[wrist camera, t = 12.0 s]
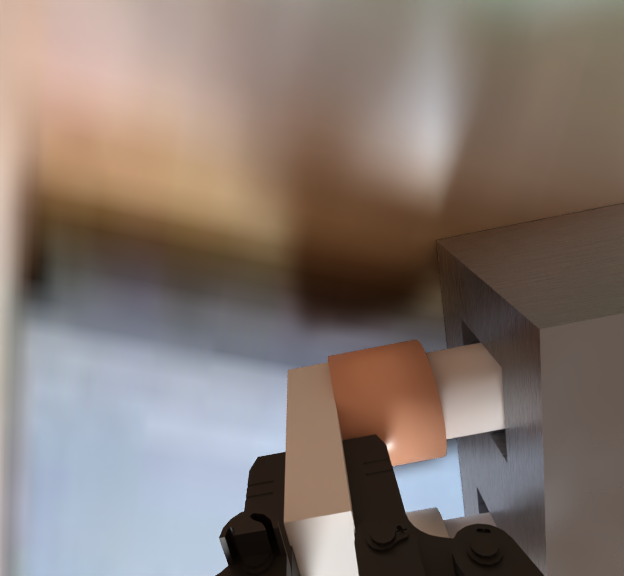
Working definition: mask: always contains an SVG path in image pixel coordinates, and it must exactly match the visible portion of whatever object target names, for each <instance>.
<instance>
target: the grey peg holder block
mask: <svg viewBox="0 0 624 576" xmlns="http://www.w3.org/2000/svg"><path fill="white" fill-rule="evenodd" d="M436 246H437V255H438V265H439V274H440V284H441V293H442V303H443V312H444V322H445V331H446V341H447V349H450V348H455V347H460V346H466V345H471V344H476V343H482V345H483V346H484V347H485V348H486V349H487V351H488V352H489V353H490V354H491V355H492V357H493V358H494V359H495V360H496V361H497V363H498V364H499V365H500V366H501V367H502V382H503V398H504V415H505V429H500V430H495V431H489V432H484V433H478V434H473V435H467V436H462V437H457V445H458V454H459V464H460V473H461V483H462V492H463V502H464V511H465V516H471V515H477V514H482V513H488V512H490V514H491V516H492V518H493V520H494V522H495V524H496V526H497V528H500V529H502V530H504V531H505V532H506V533H507V534H508V535H509V536H511V537H512V538H513V539H514V540H515V542H516V543H517V544H518V545H519V546H520V547H521V549H522V550H523V551H524V552H525V553H526V554H527V556H528V557H529V558H530V559H531V560H532V562H533V563H534V564H535V565H536V566H537V567H538V569H539V570H540V571H541V572H542V573H543V574H544V576H624V203H623V204H618V205H613V206H607V207H602V208H597V209H592V210H587V211H582V212H577V213H572V214H567V215H562V216H557V217H551V218H546V219H541V220H536V221H531V222H526V223H521V224H516V225H511V226H506V227H501V228H495V229H490V230H485V231H480V232H475V233H470V234H465V235H460V236H455V237H450V238H445V239H439V240H436Z"/></svg>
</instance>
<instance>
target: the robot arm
mask: <svg viewBox="0 0 624 576" xmlns="http://www.w3.org/2000/svg"><path fill="white" fill-rule="evenodd" d="M219 539H220V542H221V545H222V548H223V551H224V554H225V556H226V559H227V562H228V565H229V566H228V567H226V568H225V569H224V570H223V571H222V572H221V573H219V574H217V575H216V576H544V574H543V573H542V572H541V571H540V570H539V569H538V567H537V566H536V565H535V564H534V563H533V562H532V560H531V559H530V558H529V557H528V556H527V554H526V553H525V552H524V551H523V550H522V549H521V547H520V546H519V545H518V544H517V543H516V542H515V540H514V539H513V538H512V537H511V536H509V535H508V534H507V533H506V532H505V531H504V530H502V529H500V528H497V527H495V526H492V525H489V524H479V523H477V524H473V525H468V526H465V527H464V528H462V529H461V530H459V531H458V532H457V533H456V535H455V537H454V538H446V537H438V536H433V535H429V534H427V533H425V532H422V531H420V530H419V529H418V528H416V527H415V526H414V525H413V524H412V523H411V522H410V521H409V519H408V517H407V515H406V513H405V510H404V506H403V503H402V499H401V495H400V492H399V488H398V485H397V481H396V478H395V474H394V471H393V467H392V464H391V461H390V456H389V453H388V449H387V446H386V444H385V443H384V442H383V441H382V440H381V439H380V438H379V437H378V436H377V435H376V434H374V435H369V436H363V437H358V438H352V439H347V440H343V439H342V434H341V429H340V424H339V419H338V413H337V408H336V403H335V399H334V394H333V388H332V382H331V376H330V370H329V363H323V364H318V365H312V366H307V367H302V368H296V369H291V370H288V383H287V421H286V452H283V453H277V454H272V455H266V456H261V457H258V458H257V459H256V461H255V463H254V464H253V466H252V467H251V469H250V471H249V478H248V488H247V494H246V502H245V509H244V512H241V513H239V514H238V515H236V516H235V517H233V518H232V519H231V520H230V521H229V522H228V523H227V524H226V525H225V527H224V528H223V530H222V532H221V535H220V537H219Z"/></svg>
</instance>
